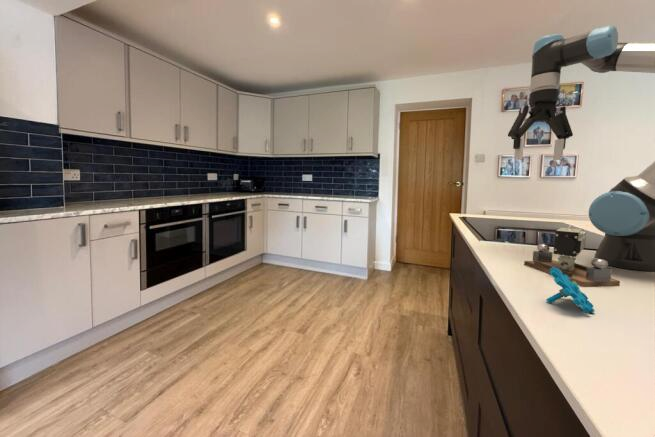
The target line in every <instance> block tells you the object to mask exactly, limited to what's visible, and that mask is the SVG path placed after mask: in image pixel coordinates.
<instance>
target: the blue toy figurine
mask: <svg viewBox="0 0 655 437" xmlns="http://www.w3.org/2000/svg"><path fill="white" fill-rule="evenodd" d="M550 271H551V272H550V274H551V275H550V274H549V275H550V276H552V277H553V278H554V279H553V281H554V282H555V284H556V285H558V286H559V287H561V288H560V289H559V290H558V291H559V292H557V293H555V294H553V295H551V296H550V297H548V298H546V299H545V300H546V302H547V303H548V304H552V303H554V302H556V301H558V300H560V299H562V298H568V297H569V296H570V297H571V298H572V302H573V304H575V305H576V306H577V307H579V306H580V308H581V310H583V312H584V313H586V314H587V313H589V314H592V313H594V312H596V311H595V309H594V304H593V303H592V302H591V301H589V297H588V296H587V295H586V294H585V293H584V292H583V291H582V290H581V289H580V286H579V285H578V284H577V283H576V282H575V281H573V282H571V281H570V278H569V277H568V276H567V275H566V274H565V275H563V274H562V271H561V270H559V269H558V268H557V269H556V268H555V267H552V268H550Z"/></svg>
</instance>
